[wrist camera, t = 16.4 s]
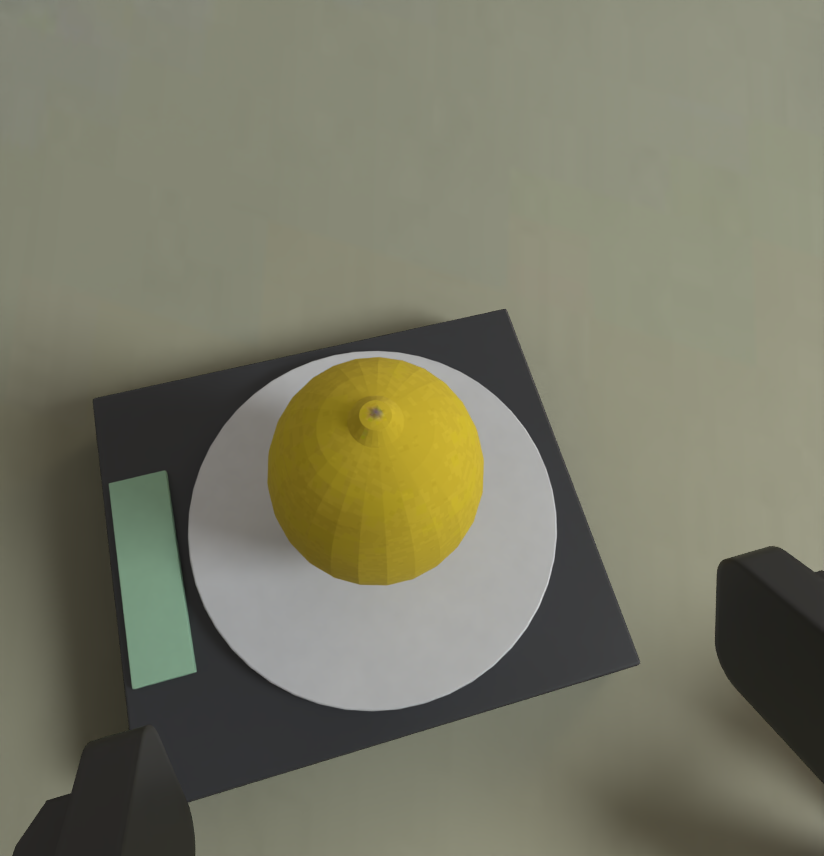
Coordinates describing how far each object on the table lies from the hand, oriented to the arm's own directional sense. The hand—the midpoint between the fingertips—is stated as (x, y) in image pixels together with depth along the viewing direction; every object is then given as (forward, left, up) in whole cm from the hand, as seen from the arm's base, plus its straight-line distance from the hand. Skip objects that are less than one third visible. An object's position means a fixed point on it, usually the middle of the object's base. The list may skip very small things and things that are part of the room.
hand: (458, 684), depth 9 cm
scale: (-1, +6, -14) cm, 15 cm away
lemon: (0, +5, -11) cm, 12 cm away
